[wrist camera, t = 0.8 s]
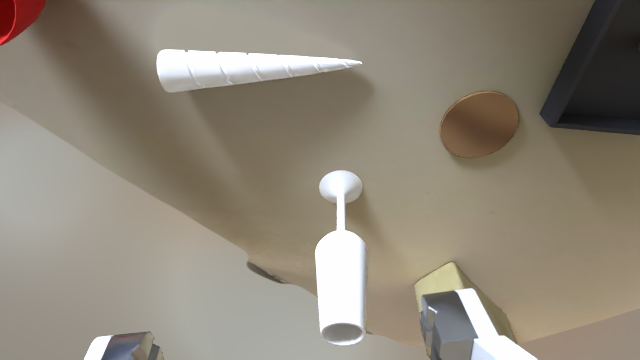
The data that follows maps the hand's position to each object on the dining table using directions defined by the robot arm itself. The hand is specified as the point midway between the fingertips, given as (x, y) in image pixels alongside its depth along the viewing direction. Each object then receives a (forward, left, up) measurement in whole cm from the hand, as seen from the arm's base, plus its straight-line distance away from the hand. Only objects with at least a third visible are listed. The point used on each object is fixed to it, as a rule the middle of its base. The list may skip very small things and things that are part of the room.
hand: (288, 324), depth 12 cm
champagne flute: (+26, +9, -39) cm, 48 cm away
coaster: (+11, +24, -39) cm, 47 cm away
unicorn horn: (+9, -6, -39) cm, 41 cm away
